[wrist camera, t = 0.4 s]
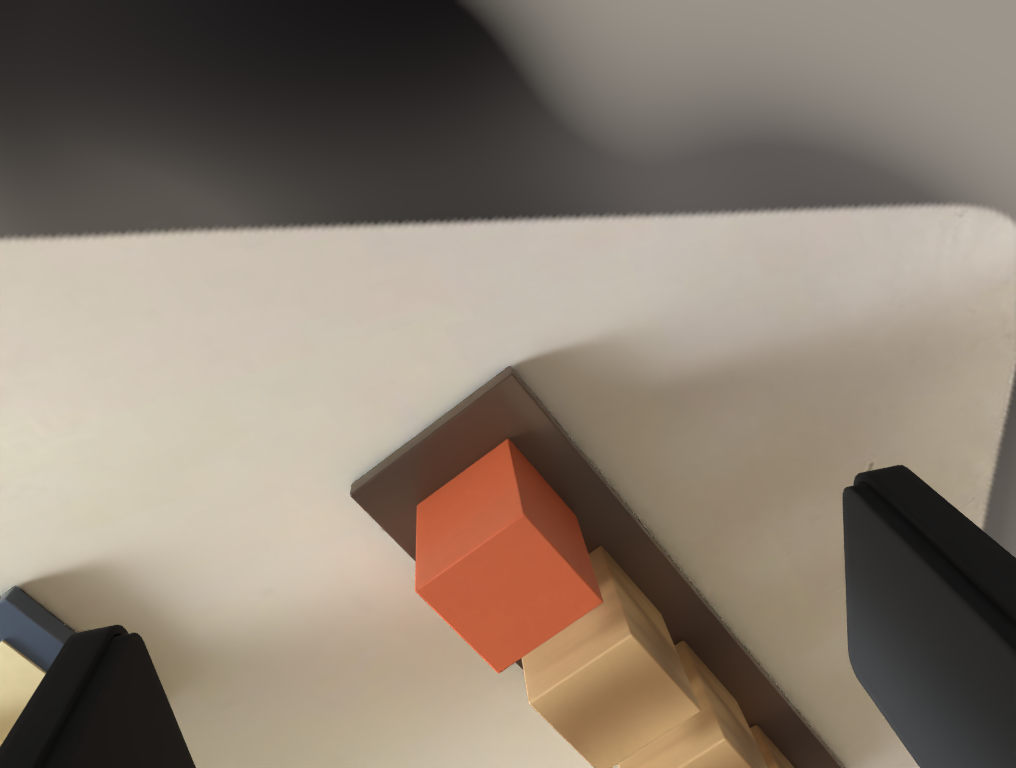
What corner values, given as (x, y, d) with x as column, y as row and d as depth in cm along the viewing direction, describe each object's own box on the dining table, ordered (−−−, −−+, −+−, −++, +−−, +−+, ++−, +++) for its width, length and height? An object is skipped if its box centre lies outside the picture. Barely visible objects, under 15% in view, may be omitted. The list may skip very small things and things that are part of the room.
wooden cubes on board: (350, 484, 29) (333, 581, 24) (510, 364, 28) (529, 438, 23) (711, 849, 38) (758, 982, 32) (845, 768, 37) (917, 891, 31)
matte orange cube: (416, 504, 29) (414, 591, 24) (508, 437, 28) (524, 513, 24) (487, 579, 30) (498, 675, 26) (577, 516, 30) (604, 602, 25)
